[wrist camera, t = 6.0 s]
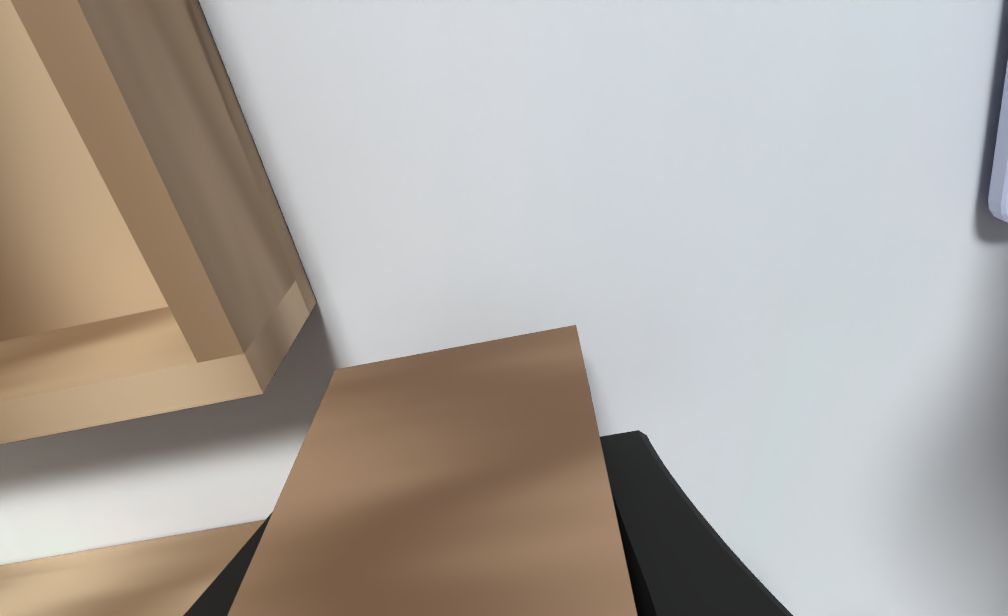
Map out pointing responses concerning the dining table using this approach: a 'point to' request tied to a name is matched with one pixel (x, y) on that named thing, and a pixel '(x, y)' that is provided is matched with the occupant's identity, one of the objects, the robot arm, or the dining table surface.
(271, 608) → the walnut block
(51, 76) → the box empty
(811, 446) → the dining table surface
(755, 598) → the robot arm
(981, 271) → the dining table surface
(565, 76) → the dining table surface
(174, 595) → the box with ball
